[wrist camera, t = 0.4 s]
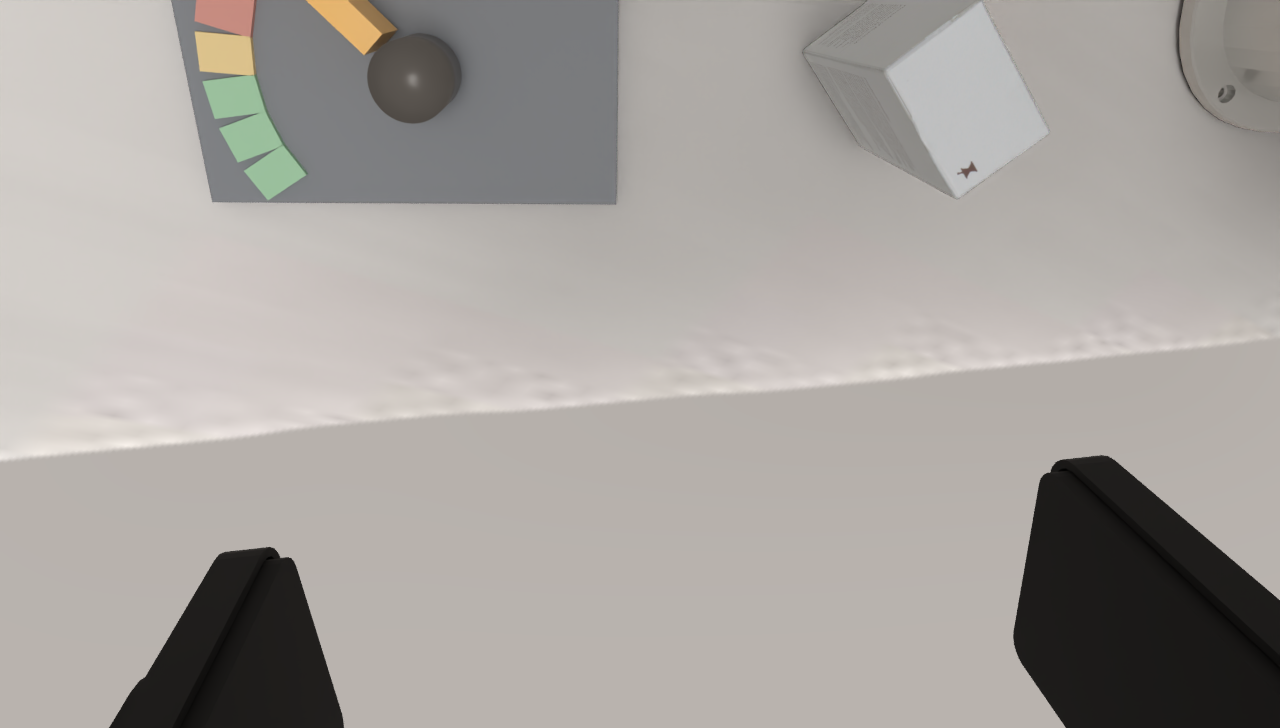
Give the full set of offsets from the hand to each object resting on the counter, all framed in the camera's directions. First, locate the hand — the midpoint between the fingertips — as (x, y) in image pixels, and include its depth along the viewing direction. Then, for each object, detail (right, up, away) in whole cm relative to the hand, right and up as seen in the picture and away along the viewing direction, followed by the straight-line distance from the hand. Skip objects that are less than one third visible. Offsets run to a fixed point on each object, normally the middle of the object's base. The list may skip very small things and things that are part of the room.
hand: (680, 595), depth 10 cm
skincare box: (+11, +17, +30) cm, 37 cm away
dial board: (-12, +18, +28) cm, 35 cm away
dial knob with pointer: (-13, +18, +26) cm, 34 cm away
